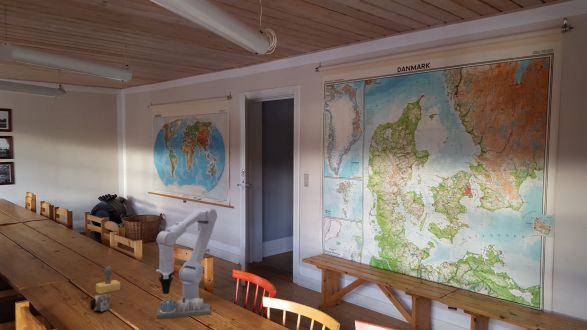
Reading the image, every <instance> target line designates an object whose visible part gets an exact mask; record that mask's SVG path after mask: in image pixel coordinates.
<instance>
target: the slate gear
mask: <svg viewBox="0 0 587 330" xmlns="http://www.w3.org/2000/svg"><path fill="white" fill-rule="evenodd" d="M167 300H169V301H170V303H166V301H167ZM175 306H176V300H175V301H174V299H169V298H168V299H165V300H164V299H163V300H162V301H161V302H160V307H161V311H162V312H167V313H168V312H171V311H173V310H175Z"/></svg>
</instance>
